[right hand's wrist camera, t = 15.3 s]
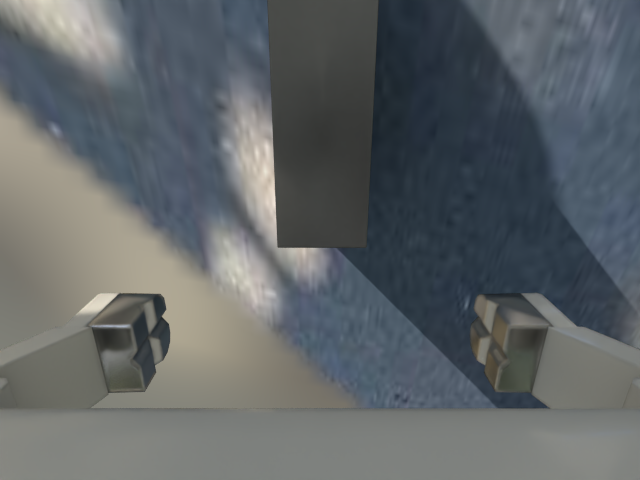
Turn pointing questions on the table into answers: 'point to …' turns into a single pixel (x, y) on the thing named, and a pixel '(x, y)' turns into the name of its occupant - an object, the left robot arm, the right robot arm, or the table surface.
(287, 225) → the box
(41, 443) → the right robot arm
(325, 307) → the table surface
